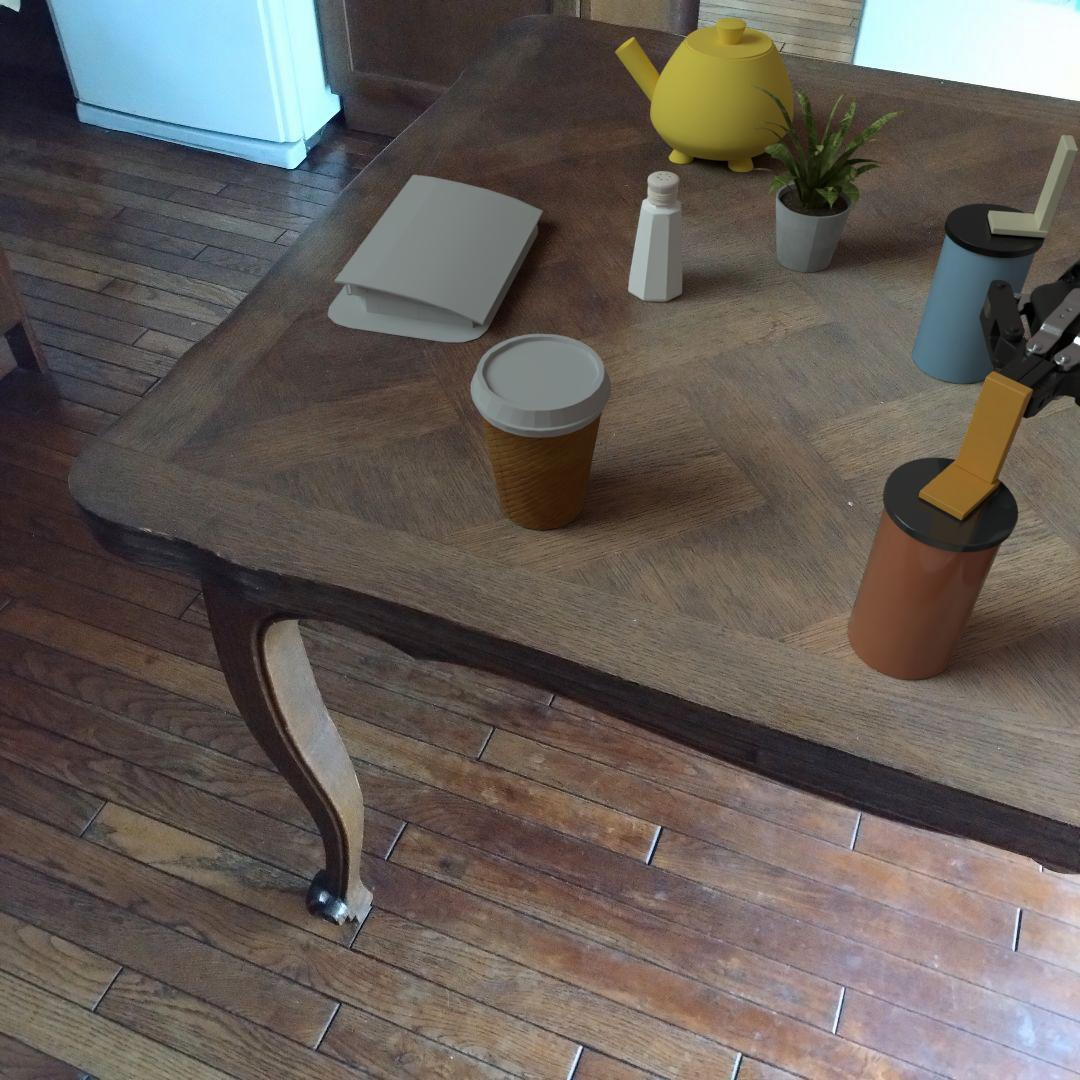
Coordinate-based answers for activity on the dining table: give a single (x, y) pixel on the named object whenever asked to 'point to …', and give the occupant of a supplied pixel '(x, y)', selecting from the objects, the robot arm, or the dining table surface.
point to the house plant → (816, 188)
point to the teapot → (716, 93)
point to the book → (436, 262)
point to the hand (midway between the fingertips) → (1005, 403)
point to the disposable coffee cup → (541, 424)
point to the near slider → (981, 448)
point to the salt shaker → (658, 242)
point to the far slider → (1048, 200)
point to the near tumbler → (924, 574)
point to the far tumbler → (968, 293)
